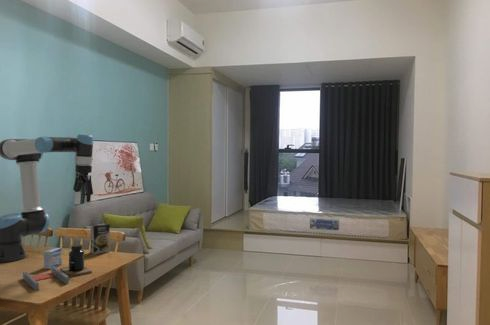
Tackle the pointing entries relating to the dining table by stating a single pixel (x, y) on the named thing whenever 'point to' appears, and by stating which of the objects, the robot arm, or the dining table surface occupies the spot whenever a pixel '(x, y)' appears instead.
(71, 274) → the walnut pad
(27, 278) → the channel
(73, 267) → the supplement bottle
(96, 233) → the coffee box
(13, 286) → the dining table surface
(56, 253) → the medicine box
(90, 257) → the dining table surface
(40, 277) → the pad
